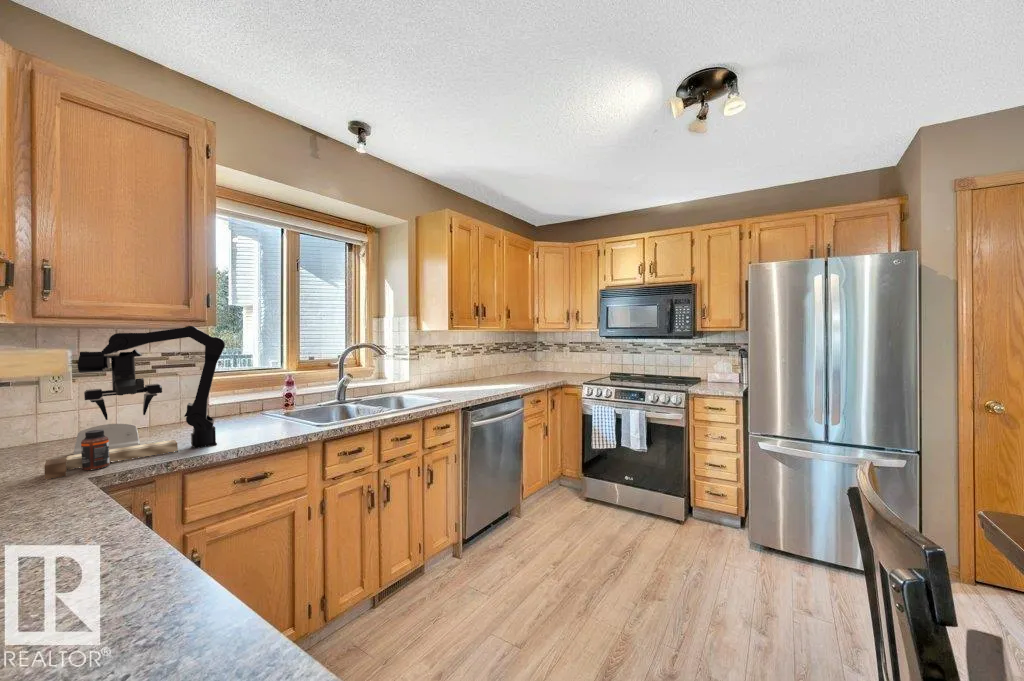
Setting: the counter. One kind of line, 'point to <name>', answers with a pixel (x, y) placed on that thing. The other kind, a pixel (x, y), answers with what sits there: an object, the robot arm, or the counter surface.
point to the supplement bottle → (95, 450)
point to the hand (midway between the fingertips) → (125, 417)
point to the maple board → (129, 452)
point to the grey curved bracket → (112, 436)
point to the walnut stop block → (55, 468)
